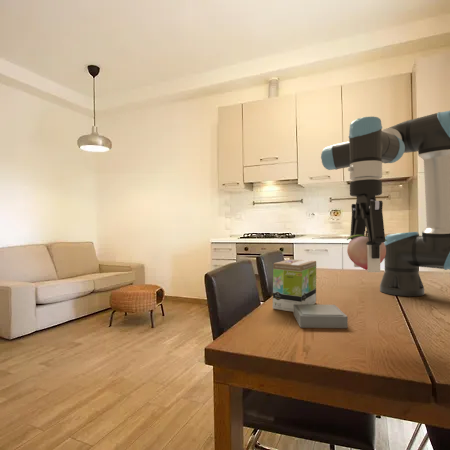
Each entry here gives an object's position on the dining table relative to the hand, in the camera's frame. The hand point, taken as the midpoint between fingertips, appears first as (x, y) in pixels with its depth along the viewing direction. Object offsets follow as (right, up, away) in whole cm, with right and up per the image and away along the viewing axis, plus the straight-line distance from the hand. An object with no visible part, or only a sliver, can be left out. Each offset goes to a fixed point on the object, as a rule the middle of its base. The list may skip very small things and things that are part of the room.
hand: (366, 269), depth 81 cm
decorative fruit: (0, 0, 0) cm, 1 cm away
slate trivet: (-10, -15, +7) cm, 20 cm away
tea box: (-13, -16, +23) cm, 31 cm away
